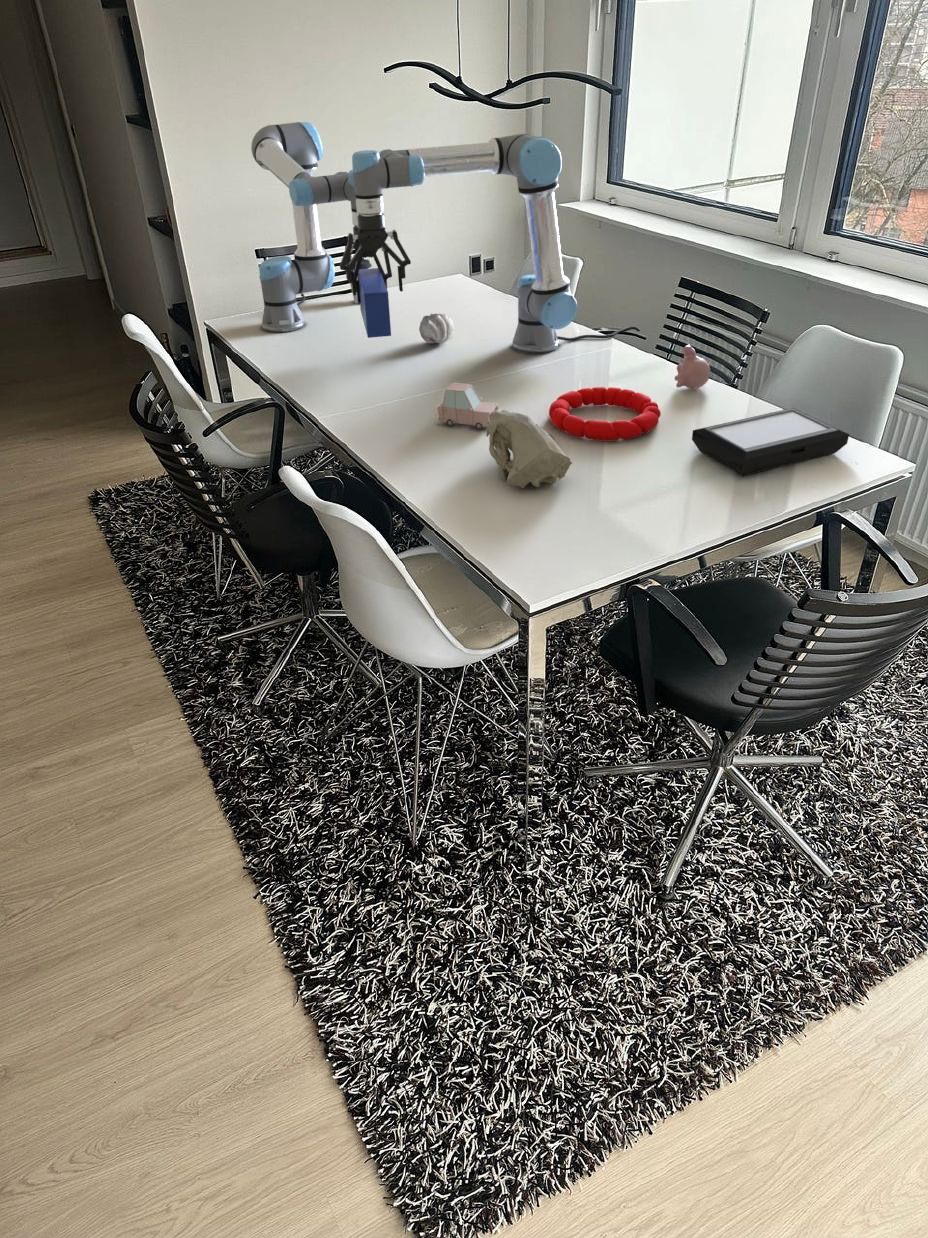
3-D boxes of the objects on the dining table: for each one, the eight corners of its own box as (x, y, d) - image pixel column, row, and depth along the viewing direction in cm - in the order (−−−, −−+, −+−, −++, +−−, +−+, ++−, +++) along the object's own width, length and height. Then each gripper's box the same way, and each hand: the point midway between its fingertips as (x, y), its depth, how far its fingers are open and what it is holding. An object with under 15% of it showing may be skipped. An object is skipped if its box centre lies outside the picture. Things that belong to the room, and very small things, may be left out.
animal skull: (496, 517, 219) (521, 479, 201) (463, 429, 225) (484, 384, 207) (557, 503, 225) (586, 465, 206) (523, 417, 231) (549, 373, 212)
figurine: (665, 387, 264) (669, 347, 257) (693, 380, 268) (698, 340, 261) (686, 396, 257) (690, 355, 250) (714, 388, 262) (720, 348, 255)
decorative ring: (589, 435, 224) (684, 402, 234) (527, 398, 247) (617, 369, 256) (589, 461, 229) (683, 427, 238) (529, 422, 251) (617, 393, 260)
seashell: (411, 342, 306) (409, 313, 300) (450, 335, 312) (448, 306, 306) (425, 350, 298) (423, 320, 293) (464, 342, 304) (463, 313, 299)
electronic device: (744, 456, 208) (693, 426, 223) (740, 480, 212) (690, 450, 227) (850, 430, 218) (794, 404, 233) (844, 454, 222) (789, 427, 237)
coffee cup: (373, 304, 347) (369, 264, 338) (348, 305, 347) (344, 264, 339) (375, 297, 355) (372, 258, 347) (351, 298, 355) (347, 258, 347)
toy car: (488, 432, 240) (488, 396, 234) (436, 426, 244) (434, 390, 239) (499, 419, 247) (499, 384, 241) (448, 413, 252) (447, 379, 246)
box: (360, 310, 292) (356, 269, 285) (382, 308, 293) (378, 267, 286) (367, 337, 268) (363, 293, 261) (391, 335, 269) (388, 291, 262)
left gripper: (333, 229, 271) (340, 306, 284) (398, 225, 273) (403, 302, 286) (331, 224, 277) (339, 300, 290) (395, 220, 279) (400, 295, 292)
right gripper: (326, 219, 243) (335, 299, 255) (416, 212, 246) (421, 291, 258) (325, 214, 249) (334, 292, 261) (413, 207, 252) (418, 285, 264)
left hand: (371, 301), depth 288 cm, fingers closed on box, 7 cm apart
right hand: (377, 292), depth 259 cm, fingers open, 13 cm apart
